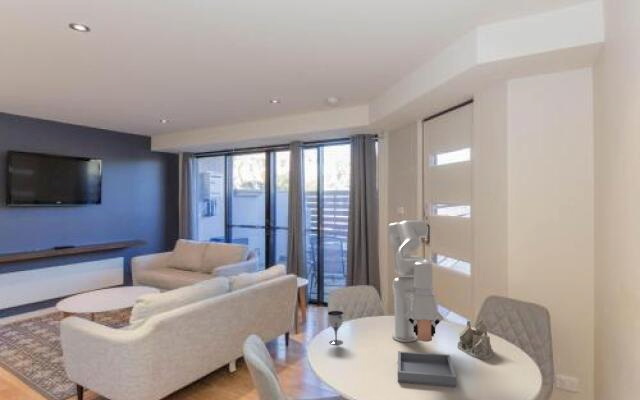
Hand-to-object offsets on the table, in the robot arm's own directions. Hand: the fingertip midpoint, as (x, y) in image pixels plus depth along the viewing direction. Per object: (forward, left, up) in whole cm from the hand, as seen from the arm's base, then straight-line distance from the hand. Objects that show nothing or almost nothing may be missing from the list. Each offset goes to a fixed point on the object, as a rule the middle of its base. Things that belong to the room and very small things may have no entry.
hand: (424, 334), depth 151 cm
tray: (0, 0, -16) cm, 16 cm away
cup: (0, 0, -2) cm, 2 cm away
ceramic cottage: (-27, +24, -16) cm, 39 cm away
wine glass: (-25, -42, -16) cm, 52 cm away
